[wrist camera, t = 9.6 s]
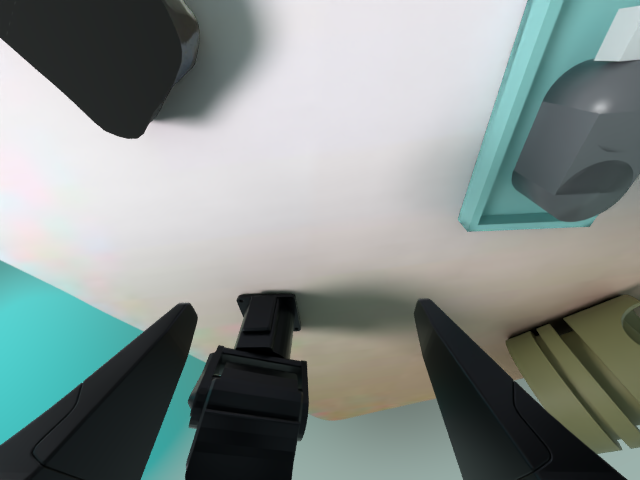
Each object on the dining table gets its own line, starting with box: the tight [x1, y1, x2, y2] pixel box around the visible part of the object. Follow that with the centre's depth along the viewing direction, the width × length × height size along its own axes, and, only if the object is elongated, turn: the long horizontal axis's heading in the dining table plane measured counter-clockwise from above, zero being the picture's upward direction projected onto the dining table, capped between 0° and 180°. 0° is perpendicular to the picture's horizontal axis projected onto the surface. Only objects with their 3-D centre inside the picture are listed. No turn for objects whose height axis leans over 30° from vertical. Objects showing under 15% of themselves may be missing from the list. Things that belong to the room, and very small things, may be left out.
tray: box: [458, 0, 640, 232], centre depth 15 cm, size 15×9×2 cm, turn 4°
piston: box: [506, 295, 640, 454], centre depth 25 cm, size 11×12×11 cm
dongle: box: [512, 6, 640, 222], centre depth 14 cm, size 10×4×4 cm, turn 4°
